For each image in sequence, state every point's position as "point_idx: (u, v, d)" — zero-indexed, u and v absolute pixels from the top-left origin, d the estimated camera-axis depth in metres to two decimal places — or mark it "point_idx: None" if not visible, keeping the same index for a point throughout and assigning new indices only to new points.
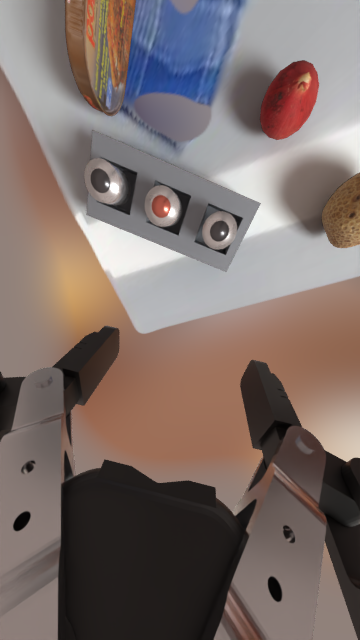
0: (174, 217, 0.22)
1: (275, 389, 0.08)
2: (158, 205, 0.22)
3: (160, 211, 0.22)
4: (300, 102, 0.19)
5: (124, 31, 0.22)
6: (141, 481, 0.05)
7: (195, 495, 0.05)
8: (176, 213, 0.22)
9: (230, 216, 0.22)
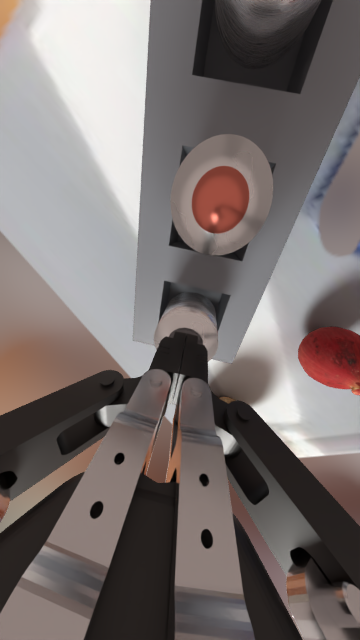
0: (197, 247, 0.09)
1: (194, 354, 0.09)
2: (222, 193, 0.07)
3: (207, 202, 0.08)
4: (338, 383, 0.15)
5: None
6: (141, 481, 0.05)
7: None
8: (206, 251, 0.09)
9: (211, 355, 0.12)
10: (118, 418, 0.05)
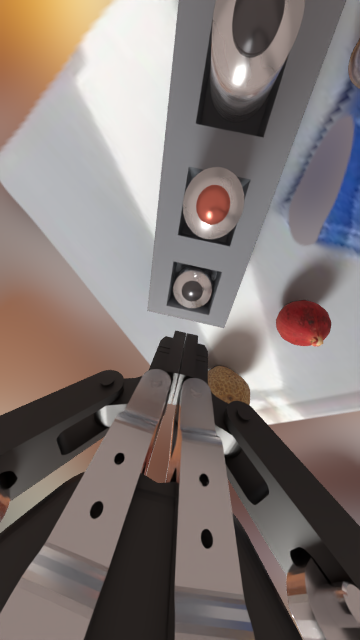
0: (199, 233, 0.14)
1: (194, 354, 0.09)
2: (214, 200, 0.12)
3: (205, 205, 0.13)
4: (302, 339, 0.21)
5: None
6: (141, 481, 0.05)
7: None
8: (205, 236, 0.14)
9: (207, 298, 0.20)
10: (118, 418, 0.05)
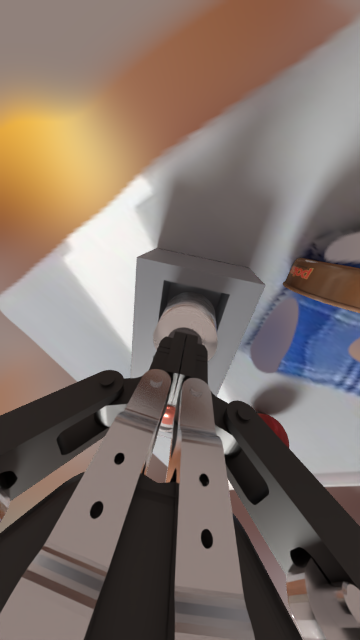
0: None
1: (194, 354, 0.09)
2: (167, 414, 0.15)
3: None
4: None
5: None
6: (141, 481, 0.05)
7: None
8: (164, 425, 0.17)
9: None
10: (118, 418, 0.05)
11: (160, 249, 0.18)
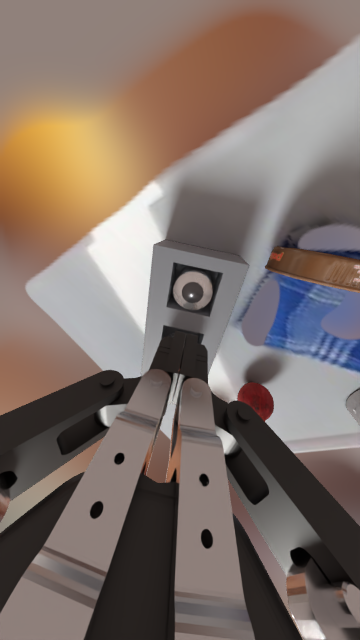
0: None
1: (194, 354, 0.09)
2: None
3: None
4: None
5: None
6: (141, 481, 0.05)
7: None
8: None
9: None
10: (118, 418, 0.05)
11: (168, 240, 0.23)
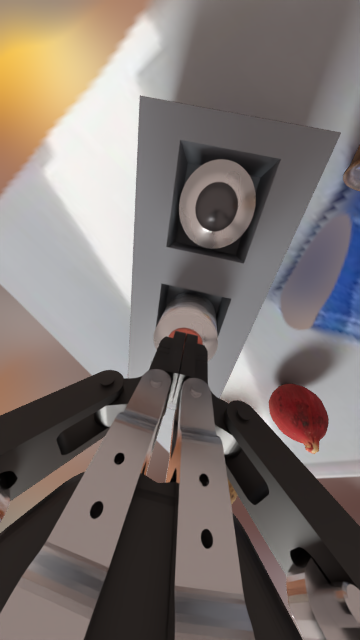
0: None
1: (194, 354, 0.09)
2: None
3: None
4: (296, 439, 0.19)
5: None
6: (141, 481, 0.05)
7: None
8: None
9: None
10: (118, 418, 0.05)
11: None
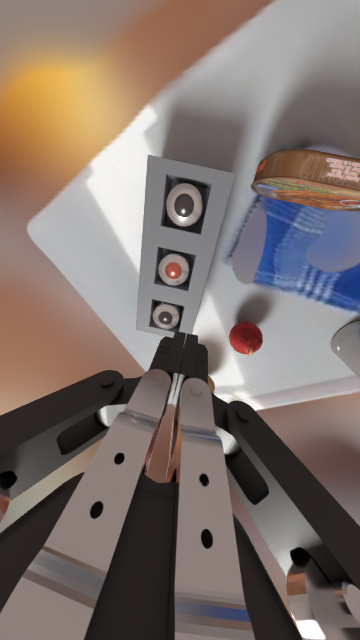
0: (167, 282, 0.26)
1: (194, 354, 0.09)
2: (173, 268, 0.25)
3: (169, 271, 0.25)
4: (242, 350, 0.30)
5: (308, 199, 0.24)
6: (141, 481, 0.05)
7: None
8: (171, 284, 0.26)
9: (176, 322, 0.30)
10: (118, 418, 0.05)
11: None
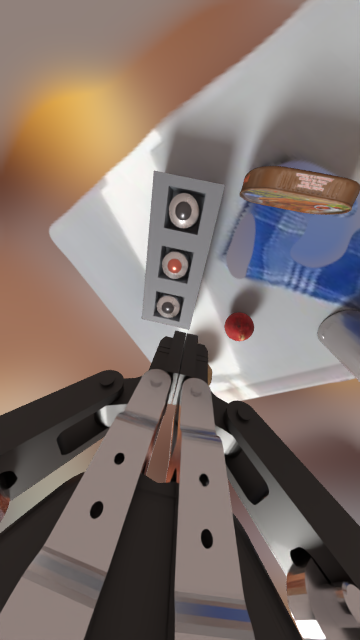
0: (169, 276, 0.31)
1: (194, 354, 0.09)
2: (174, 264, 0.29)
3: (171, 266, 0.29)
4: (235, 337, 0.34)
5: (289, 205, 0.28)
6: (141, 481, 0.05)
7: None
8: (172, 277, 0.31)
9: (177, 312, 0.34)
10: (118, 418, 0.05)
11: None
